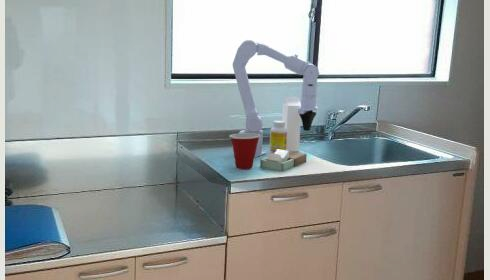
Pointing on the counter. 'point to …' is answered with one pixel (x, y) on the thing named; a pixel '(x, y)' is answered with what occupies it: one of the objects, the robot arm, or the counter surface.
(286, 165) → the tray
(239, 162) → the plastic cup
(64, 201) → the counter surface
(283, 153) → the tile back
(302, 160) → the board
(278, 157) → the tile front
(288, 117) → the milk
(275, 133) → the supplement bottle
